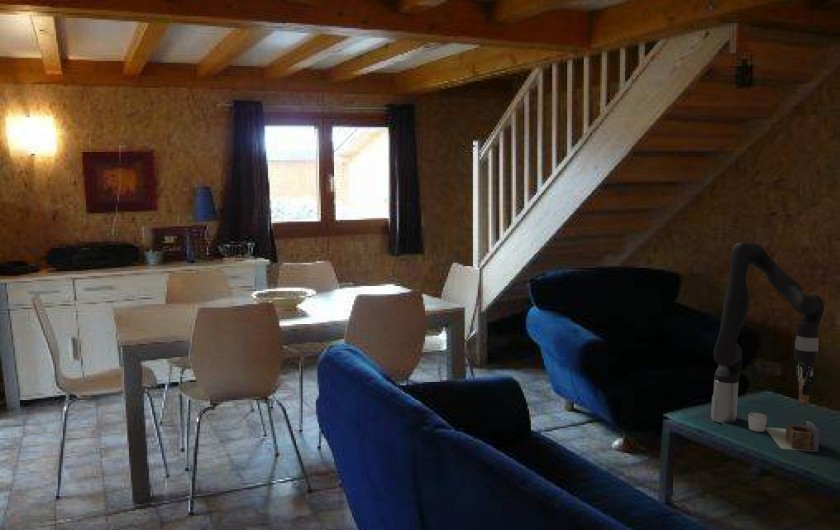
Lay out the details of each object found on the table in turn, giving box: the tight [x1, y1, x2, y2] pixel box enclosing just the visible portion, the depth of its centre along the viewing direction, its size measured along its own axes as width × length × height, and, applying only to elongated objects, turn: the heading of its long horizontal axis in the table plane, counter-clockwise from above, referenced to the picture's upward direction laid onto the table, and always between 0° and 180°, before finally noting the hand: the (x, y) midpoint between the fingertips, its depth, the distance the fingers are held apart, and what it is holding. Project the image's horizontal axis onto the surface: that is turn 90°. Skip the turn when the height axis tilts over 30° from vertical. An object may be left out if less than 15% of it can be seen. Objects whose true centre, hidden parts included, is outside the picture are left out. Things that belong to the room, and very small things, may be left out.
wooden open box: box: [785, 424, 814, 449], centre depth 257 cm, size 7×8×6 cm
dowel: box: [798, 372, 810, 406], centre depth 256 cm, size 3×3×12 cm
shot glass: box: [747, 411, 768, 432], centre depth 274 cm, size 7×7×7 cm
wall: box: [805, 420, 821, 453], centre depth 256 cm, size 2×10×8 cm, turn 167°
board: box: [765, 426, 817, 453], centre depth 264 cm, size 12×23×1 cm, turn 167°
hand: (803, 393), depth 257 cm, fingers closed on dowel, 3 cm apart
